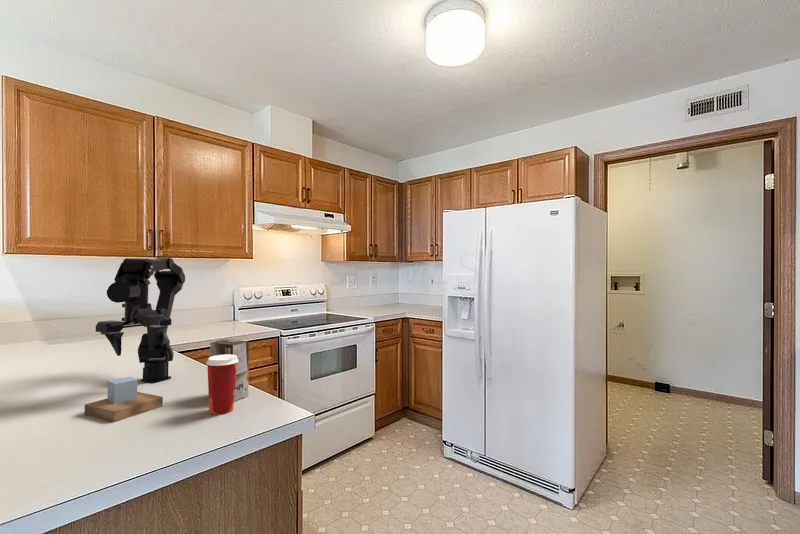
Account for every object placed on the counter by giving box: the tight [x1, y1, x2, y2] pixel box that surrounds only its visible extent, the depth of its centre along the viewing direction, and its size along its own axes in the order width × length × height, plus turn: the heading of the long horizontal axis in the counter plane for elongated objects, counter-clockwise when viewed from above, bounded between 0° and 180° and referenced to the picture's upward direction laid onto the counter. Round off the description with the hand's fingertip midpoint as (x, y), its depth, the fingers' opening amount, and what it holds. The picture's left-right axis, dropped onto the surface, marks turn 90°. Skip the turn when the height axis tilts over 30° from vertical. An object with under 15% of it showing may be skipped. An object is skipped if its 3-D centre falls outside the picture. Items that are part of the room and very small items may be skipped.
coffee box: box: [209, 339, 250, 402], centre depth 110 cm, size 9×6×16 cm
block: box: [106, 376, 139, 404], centre depth 100 cm, size 5×5×5 cm
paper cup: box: [205, 354, 238, 416], centre depth 99 cm, size 8×8×14 cm
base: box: [83, 391, 164, 423], centre depth 99 cm, size 12×12×2 cm
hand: (135, 352), depth 113 cm, fingers open, 9 cm apart
